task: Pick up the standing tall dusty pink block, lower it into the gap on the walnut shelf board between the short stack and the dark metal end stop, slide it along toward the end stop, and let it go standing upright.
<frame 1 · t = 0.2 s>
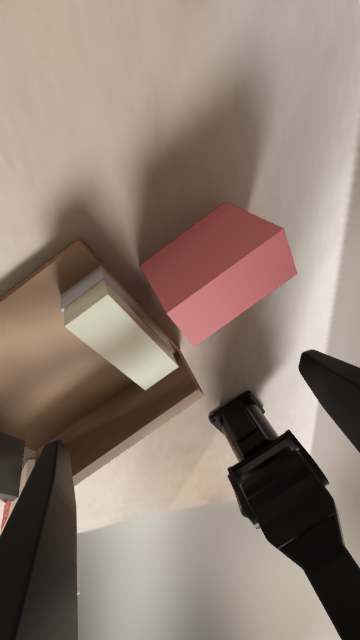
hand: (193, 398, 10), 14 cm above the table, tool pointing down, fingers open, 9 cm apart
tall dusty pink block: (192, 251, 22), on the table
shelf: (59, 363, 23), on the table
ink cartridge box: (39, 479, 31), on the table
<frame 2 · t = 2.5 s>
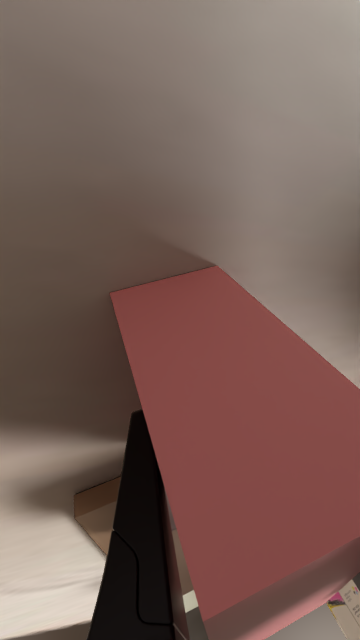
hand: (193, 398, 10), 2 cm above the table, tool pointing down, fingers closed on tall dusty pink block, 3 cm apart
tall dusty pink block: (178, 368, 11), on the table, touching gripper
shelf: (212, 505, 20), on the table
ink cartridge box: (306, 511, 30), on the table
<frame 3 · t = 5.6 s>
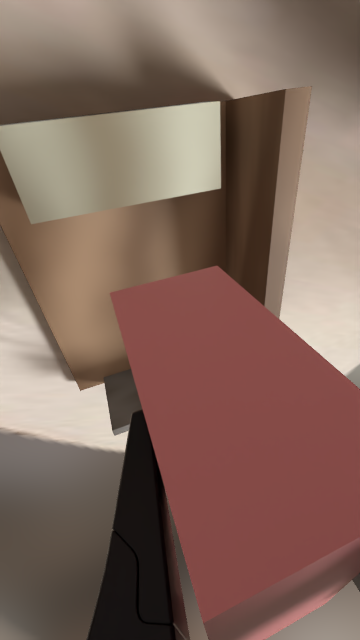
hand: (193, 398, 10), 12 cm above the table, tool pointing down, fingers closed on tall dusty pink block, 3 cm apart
tall dusty pink block: (178, 368, 11), point 10 cm above the table, touching gripper
shelf: (143, 267, 19), on the table
when the fingers open (3 cm above the table, at t = 8.5 s): tall dusty pink block stays where it is, resting on shelf.
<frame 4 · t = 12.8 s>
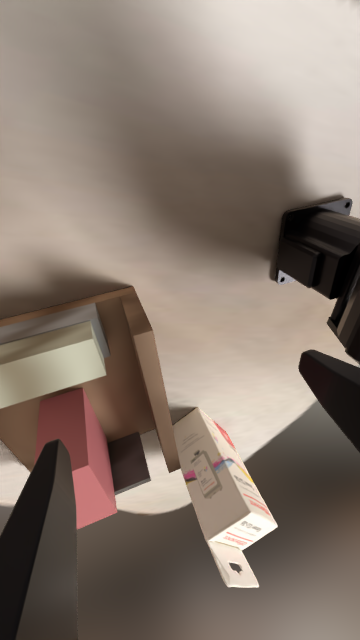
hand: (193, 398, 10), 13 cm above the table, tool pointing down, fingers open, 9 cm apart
tall dusty pink block: (77, 421, 25), point 1 cm above the table, touching shelf
shelf: (75, 388, 24), on the table
ink cartridge box: (197, 428, 35), on the table
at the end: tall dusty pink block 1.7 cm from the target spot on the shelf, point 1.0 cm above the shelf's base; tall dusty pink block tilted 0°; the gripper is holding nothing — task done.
